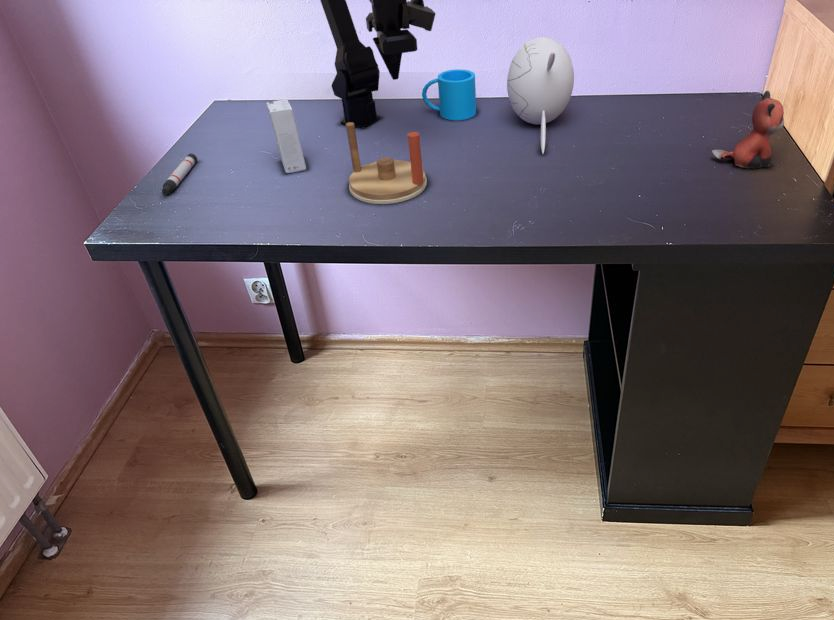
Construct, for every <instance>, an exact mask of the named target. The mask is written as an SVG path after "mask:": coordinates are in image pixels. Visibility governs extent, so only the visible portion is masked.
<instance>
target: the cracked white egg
mask: <svg viewBox="0 0 834 620" xmlns="http://www.w3.org/2000/svg"><path fill="white" fill-rule="evenodd" d="M574 70H575V69H574V65H573V62H572V58H571V56H570V54H569V52H568V51H567V49H566V48H565V47H564V45H563V44H561V43H560V42H559V41H557V40H556V39H554V38H551V37H547V36H546V37H545V36H539V37H535V38H532V39H530V40H528V41H527V42H525V43H524V44H523V45H521V46H520V47H519V49H518V50H517V52H516V53H515V54H514V56H513V58H512V60H511V62H510V65H509V68H508V73H507V78H506V91H507V97H508V100H509V103H510V105H511V107H512V110H513V111H514V112H515V114H516V115H517V116H518V117H519V118H520V119H521V120H523V121H524V122H526V123H528V124H532V125H540V149H541V150H540V151H541V153H542V155H544V154H545V149H546V143H547V142H546V139H547V127H546V126H547V124H548V123H550V122H552V121H553V120H556V119H557V118H558V117H559V116H560V115H561V114H562V113H563V112H564V110H565V109H566V107H567V106H568V104H569V102H570V100H571V97H572V94H573V90H574V85H575V71H574Z"/></svg>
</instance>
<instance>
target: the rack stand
mask: <svg viewBox="0 0 834 620" xmlns="http://www.w3.org/2000/svg"><path fill="white" fill-rule="evenodd" d="M427 180H428V179H427V176H426V175H425V183H424V185H423V186H422V187H421V188H420V189H419V190H417V191H416V192H414V193H412V194H409V195H407V196H403V197H400V198H394V199H384V200H378V199H369V198H365V197H361V196H359V195H357V194H355V193H354V192H353V191H352V190H351V188H350V183H348V189H349V193H350V194H351V195H352V197H353V198H355V199H356V200H358V201H361V202H363V203H368V204H373V205H391V204H398V203H403V202H405V201H409V200H411V199H413V198H415V197H417V196H419V195H420V194H421V193H423V192H424V191H425V189H426V187H427V185H428V181H427Z"/></svg>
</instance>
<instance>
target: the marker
mask: <svg viewBox="0 0 834 620" xmlns="http://www.w3.org/2000/svg"><path fill="white" fill-rule="evenodd" d="M197 161H198V157H197V155H195V154H194V153H188V154H187V156H186V157H185V158H183V160H181V162H180V163H179V164H178V166H177V167H176V168H175V170H174V171H173V172H172V173H171V174H170V176H169V177H168V178H167V179H166V181H165V182H164V183H163V184H162V189H161V194H162V195H164V196H165V195H168V194H169V193H173V191H174V190H175V189H177V187H178V186H179V184H180V183H182V181H183V179H184V178H185V177H186V176H187V175H188V173H189V172H190V170H191V169H192V168H193V167H194V166H195V164H196V163H197Z"/></svg>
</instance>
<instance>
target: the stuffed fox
mask: <svg viewBox="0 0 834 620" xmlns="http://www.w3.org/2000/svg"><path fill="white" fill-rule="evenodd" d="M784 116H785V111H784V106H783V104H782V102H781V101H779V100H778V99H775V98H772V97H771V93H770V90H765V91H764V93H763V95H762V96H761V100H760V101H759V102H758V103H757V104H756V105H755V107H754V109H753V111H752V116H751V123H752V127H753V128H752V130H751V131H750V132H749V133H748V134H747V135H746V136H745V137H744V138H742V139H741V140H739V142H738V143H736V144H735V146H734V147H733V148H732V150H731V151H726V150H724V149H712V150H711V153H712V154H713V156H714V157H715V158H716V159H718V160H721V161H722V160H723V161H732V160H733V161H734V165H735V167H736V166H738V167H740V168H743V169H744V168H745V169H748V170H749V169H754V170H755V169H759V168H768V167H770V166H771V164H772V163H771V161H772V150H771V144H770V139H771V136H772V135H774V134H776V133H778V132H779V131H781V130H782V129H783V127H784V125H785V119H784Z"/></svg>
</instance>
